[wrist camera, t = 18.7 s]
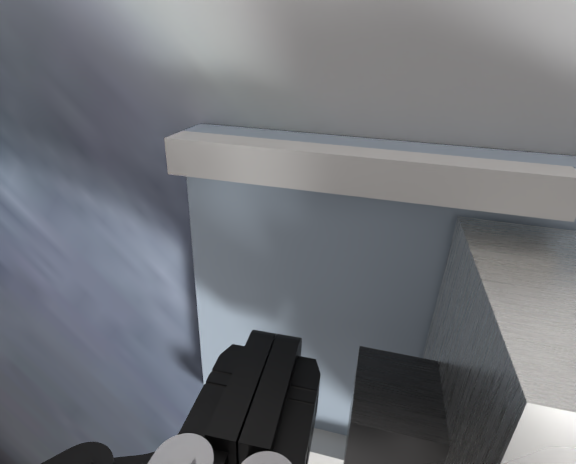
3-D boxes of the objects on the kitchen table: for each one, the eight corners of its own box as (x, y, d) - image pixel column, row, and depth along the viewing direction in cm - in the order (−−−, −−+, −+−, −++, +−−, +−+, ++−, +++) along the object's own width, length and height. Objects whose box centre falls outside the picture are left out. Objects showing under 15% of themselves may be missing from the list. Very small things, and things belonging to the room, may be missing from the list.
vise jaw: (588, 231, 9) (833, 465, 4) (490, 465, 13) (552, 736, 8) (379, 206, 10) (363, 368, 5) (345, 430, 14) (317, 651, 9)
